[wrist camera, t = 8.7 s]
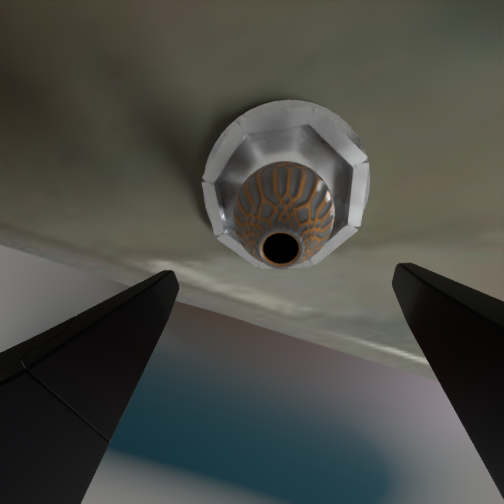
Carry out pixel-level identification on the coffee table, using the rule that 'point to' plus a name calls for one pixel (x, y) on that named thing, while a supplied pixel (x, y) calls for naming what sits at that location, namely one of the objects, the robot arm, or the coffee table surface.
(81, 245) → the coffee table surface
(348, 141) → the rosette plate
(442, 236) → the coffee table surface
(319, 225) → the vase
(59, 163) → the coffee table surface
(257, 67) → the coffee table surface
